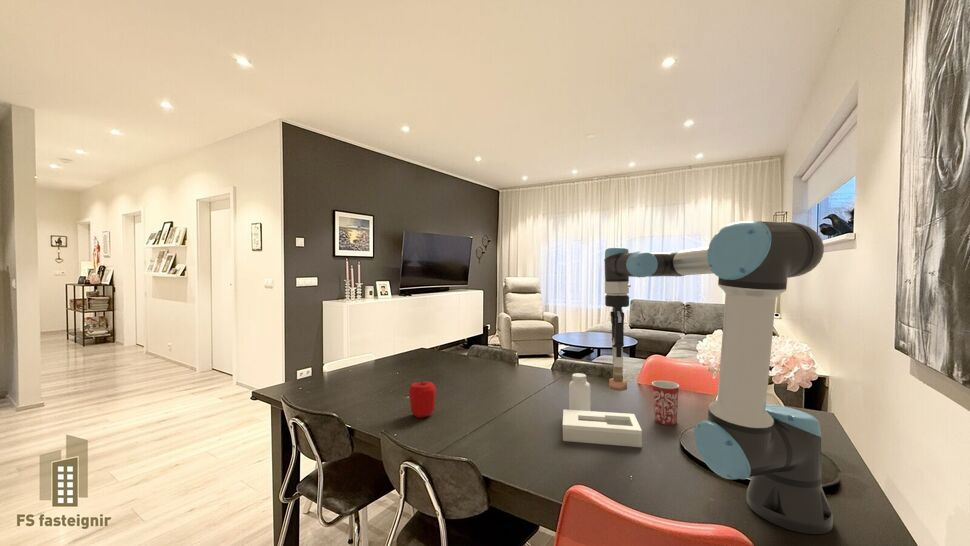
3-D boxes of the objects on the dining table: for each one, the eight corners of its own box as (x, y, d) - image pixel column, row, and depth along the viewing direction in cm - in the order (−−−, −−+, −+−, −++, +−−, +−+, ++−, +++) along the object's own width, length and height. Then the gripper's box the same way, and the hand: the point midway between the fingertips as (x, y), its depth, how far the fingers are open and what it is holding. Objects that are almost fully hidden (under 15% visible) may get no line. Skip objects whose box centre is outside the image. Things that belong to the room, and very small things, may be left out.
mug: (677, 428, 131) (676, 389, 131) (649, 422, 137) (649, 385, 137) (683, 417, 141) (683, 380, 141) (657, 411, 147) (657, 377, 147)
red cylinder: (428, 422, 139) (427, 385, 139) (404, 419, 142) (403, 383, 142) (440, 412, 149) (440, 377, 149) (417, 409, 152) (417, 375, 152)
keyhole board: (641, 447, 117) (641, 430, 117) (562, 440, 123) (562, 424, 123) (634, 429, 131) (634, 414, 131) (563, 423, 136) (563, 409, 136)
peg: (628, 391, 122) (627, 339, 122) (610, 390, 123) (609, 339, 123) (625, 385, 128) (625, 337, 128) (608, 385, 129) (607, 336, 129)
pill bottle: (566, 415, 144) (566, 376, 144) (572, 408, 151) (571, 371, 151) (587, 419, 140) (587, 378, 140) (592, 412, 147) (592, 373, 147)
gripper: (632, 296, 117) (633, 372, 117) (625, 293, 132) (626, 360, 133) (607, 296, 118) (608, 371, 118) (603, 293, 134) (603, 359, 134)
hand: (617, 365), depth 125 cm, fingers closed on peg, 3 cm apart
